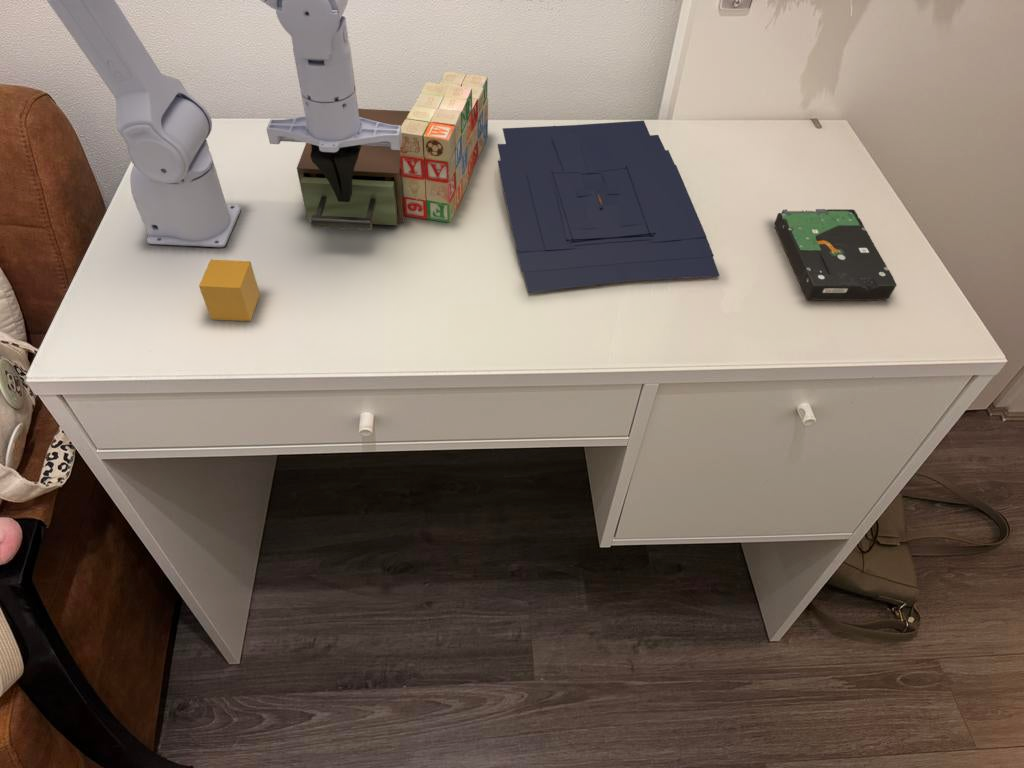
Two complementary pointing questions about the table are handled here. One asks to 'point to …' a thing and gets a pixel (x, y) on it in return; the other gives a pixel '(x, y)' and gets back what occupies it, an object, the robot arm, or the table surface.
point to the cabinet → (370, 157)
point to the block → (230, 290)
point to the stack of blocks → (442, 144)
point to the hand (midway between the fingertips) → (345, 197)
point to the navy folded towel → (599, 207)
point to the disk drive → (834, 255)
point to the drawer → (350, 203)
